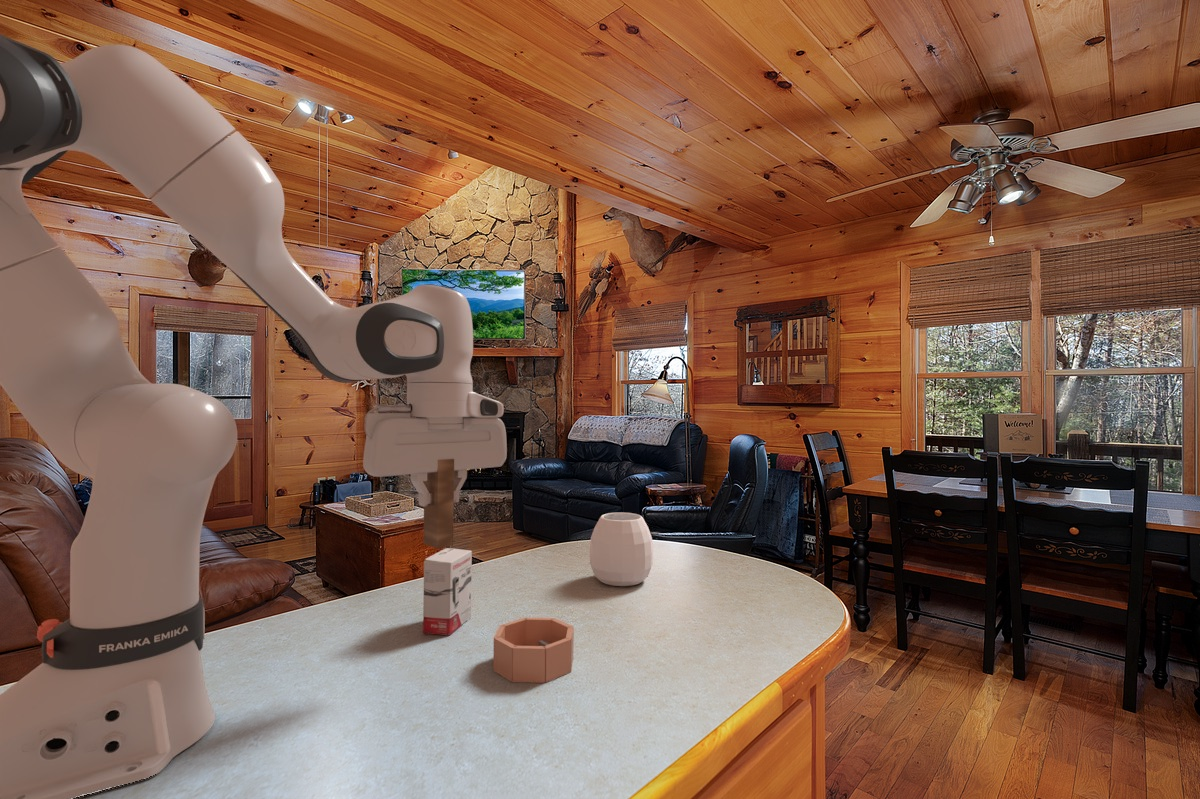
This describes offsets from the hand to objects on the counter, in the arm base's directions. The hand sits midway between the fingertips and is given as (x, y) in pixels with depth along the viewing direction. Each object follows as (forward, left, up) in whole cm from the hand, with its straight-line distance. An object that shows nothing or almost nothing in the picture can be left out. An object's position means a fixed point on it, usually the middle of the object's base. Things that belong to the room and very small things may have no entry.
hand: (439, 503), depth 80 cm
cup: (+47, +10, -23) cm, 53 cm away
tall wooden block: (0, 0, -6) cm, 6 cm away
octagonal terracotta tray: (+11, -8, -23) cm, 27 cm away
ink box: (+9, +13, -23) cm, 28 cm away
